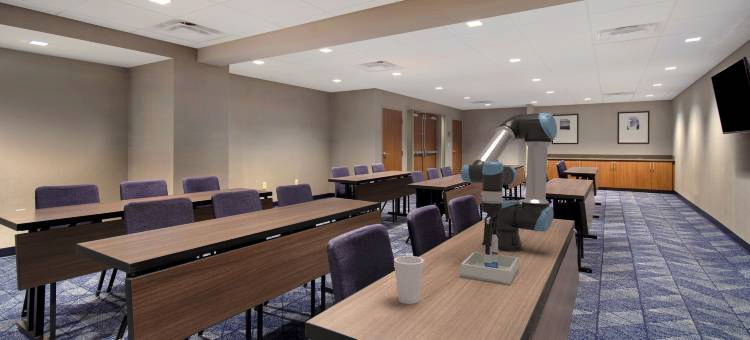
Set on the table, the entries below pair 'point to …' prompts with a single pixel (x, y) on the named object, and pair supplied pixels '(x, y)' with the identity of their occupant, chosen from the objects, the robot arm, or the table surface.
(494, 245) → the ink box
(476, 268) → the tray
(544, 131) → the robot arm
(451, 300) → the table surface
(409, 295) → the foam cup
